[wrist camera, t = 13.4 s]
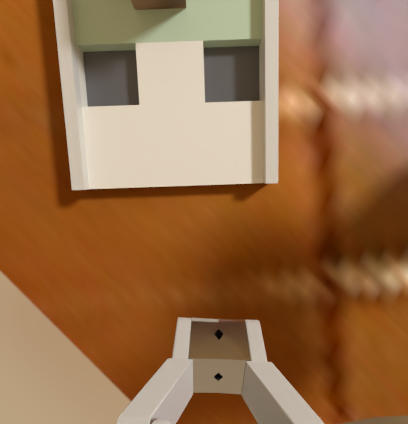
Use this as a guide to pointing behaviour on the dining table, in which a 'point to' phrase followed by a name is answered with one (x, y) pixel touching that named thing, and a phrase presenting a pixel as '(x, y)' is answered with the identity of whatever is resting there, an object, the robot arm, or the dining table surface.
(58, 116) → the dining table surface
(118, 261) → the dining table surface
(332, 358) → the dining table surface
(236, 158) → the board
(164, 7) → the walnut block
